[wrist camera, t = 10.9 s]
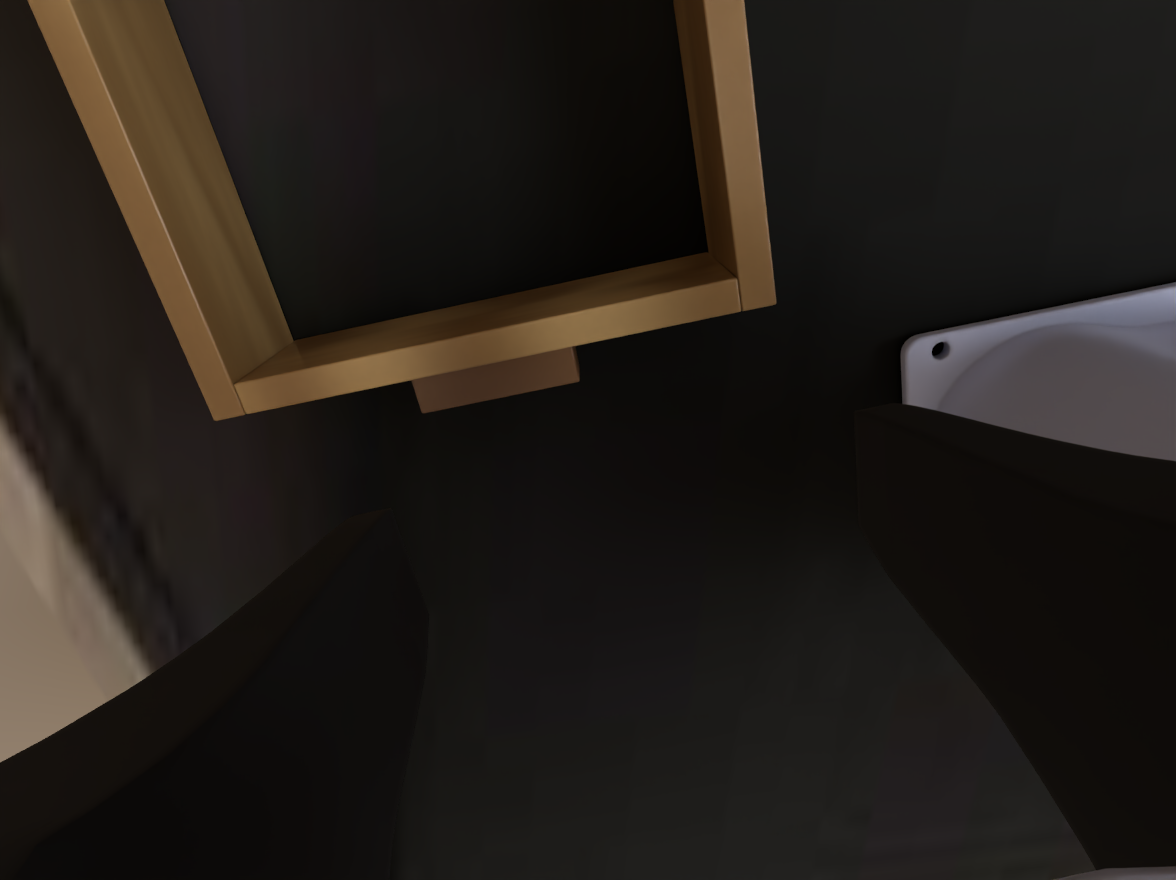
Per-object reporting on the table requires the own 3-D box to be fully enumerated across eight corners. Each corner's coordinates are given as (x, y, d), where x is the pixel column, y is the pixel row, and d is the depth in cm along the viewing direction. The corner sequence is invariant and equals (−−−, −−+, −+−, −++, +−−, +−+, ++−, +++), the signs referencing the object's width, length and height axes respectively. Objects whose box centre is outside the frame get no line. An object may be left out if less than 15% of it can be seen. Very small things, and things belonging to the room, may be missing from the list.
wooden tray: (650, -445, 14) (675, -646, 11) (744, 308, 20) (781, 346, 17) (24, -268, 15) (-150, -397, 12) (290, 403, 21) (230, 458, 18)
